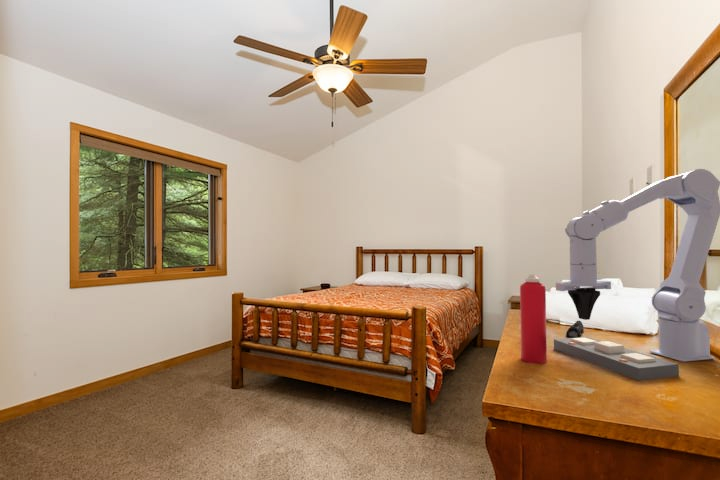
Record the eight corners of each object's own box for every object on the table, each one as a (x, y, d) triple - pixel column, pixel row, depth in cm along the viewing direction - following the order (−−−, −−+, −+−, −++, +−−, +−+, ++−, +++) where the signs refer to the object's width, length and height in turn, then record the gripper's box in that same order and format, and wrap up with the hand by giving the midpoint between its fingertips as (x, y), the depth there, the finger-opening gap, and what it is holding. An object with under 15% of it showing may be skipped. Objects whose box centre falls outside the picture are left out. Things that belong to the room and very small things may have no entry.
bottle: (549, 364, 83) (547, 275, 83) (522, 362, 84) (521, 275, 85) (544, 357, 88) (542, 274, 88) (519, 355, 90) (518, 273, 90)
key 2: (636, 367, 80) (636, 352, 80) (654, 373, 76) (654, 358, 76) (621, 369, 79) (621, 354, 80) (639, 375, 76) (638, 359, 76)
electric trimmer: (586, 330, 117) (586, 320, 117) (580, 340, 105) (580, 329, 105) (572, 329, 119) (572, 319, 119) (565, 338, 107) (565, 327, 107)
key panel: (586, 346, 97) (586, 336, 97) (679, 376, 75) (678, 363, 75) (553, 349, 95) (553, 338, 95) (639, 380, 72) (638, 367, 73)
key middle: (608, 354, 87) (608, 341, 87) (623, 359, 83) (623, 345, 83) (594, 355, 86) (594, 342, 86) (609, 360, 82) (609, 346, 82)
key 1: (584, 349, 94) (584, 337, 94) (597, 354, 90) (597, 341, 90) (571, 351, 93) (571, 338, 93) (584, 355, 89) (583, 342, 89)
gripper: (594, 263, 97) (595, 314, 97) (546, 264, 94) (547, 317, 94) (618, 264, 90) (619, 319, 90) (567, 265, 87) (568, 323, 87)
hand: (584, 318), depth 92 cm, fingers closed
